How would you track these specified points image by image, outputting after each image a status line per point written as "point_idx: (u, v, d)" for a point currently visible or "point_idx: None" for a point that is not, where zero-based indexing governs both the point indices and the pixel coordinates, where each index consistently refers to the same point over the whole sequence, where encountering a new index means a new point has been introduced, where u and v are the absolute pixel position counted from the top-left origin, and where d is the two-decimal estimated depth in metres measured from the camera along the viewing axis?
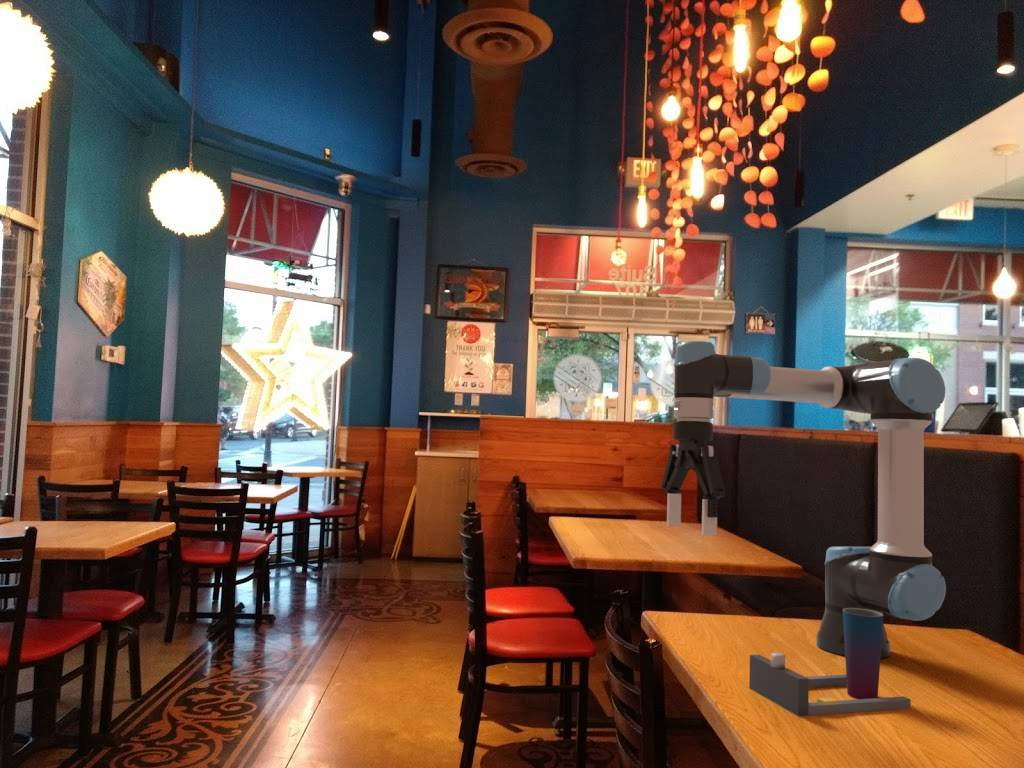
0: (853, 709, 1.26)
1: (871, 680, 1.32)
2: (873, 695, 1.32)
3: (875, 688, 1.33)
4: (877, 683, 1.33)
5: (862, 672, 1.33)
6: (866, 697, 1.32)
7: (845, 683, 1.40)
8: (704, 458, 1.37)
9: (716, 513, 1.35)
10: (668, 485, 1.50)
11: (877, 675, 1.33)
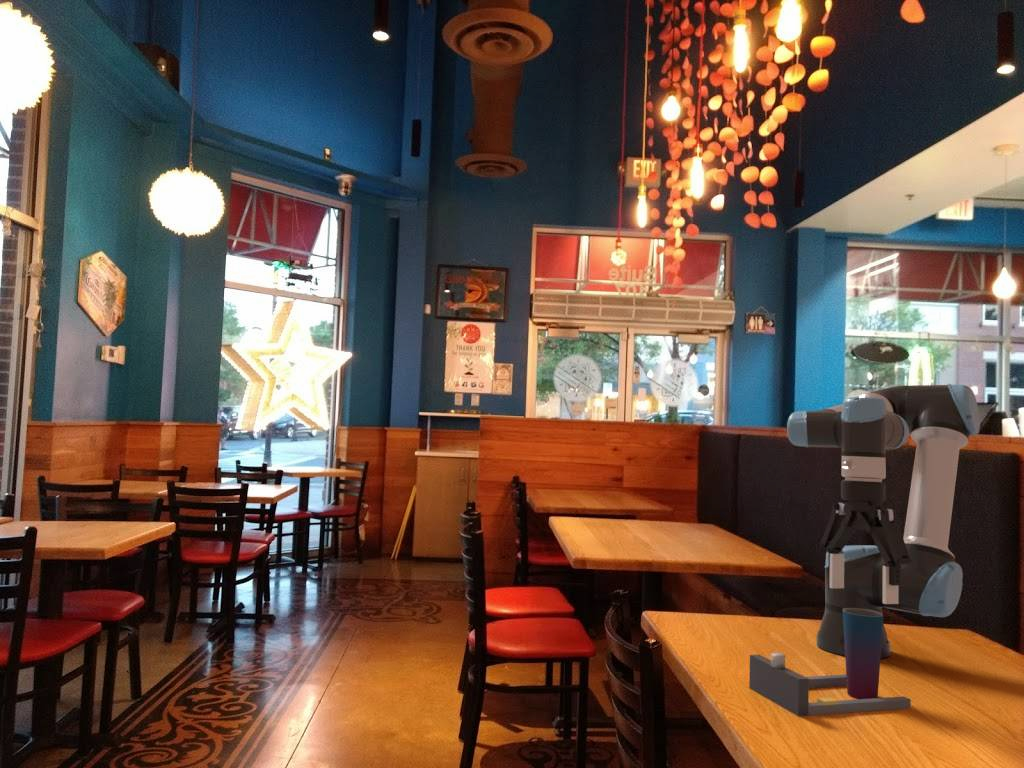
0: (853, 709, 1.26)
1: (871, 680, 1.32)
2: (873, 695, 1.32)
3: (875, 688, 1.33)
4: (877, 683, 1.33)
5: (862, 672, 1.33)
6: (866, 697, 1.32)
7: (845, 683, 1.40)
8: (884, 522, 1.30)
9: (899, 581, 1.28)
10: (830, 545, 1.43)
11: (877, 675, 1.33)
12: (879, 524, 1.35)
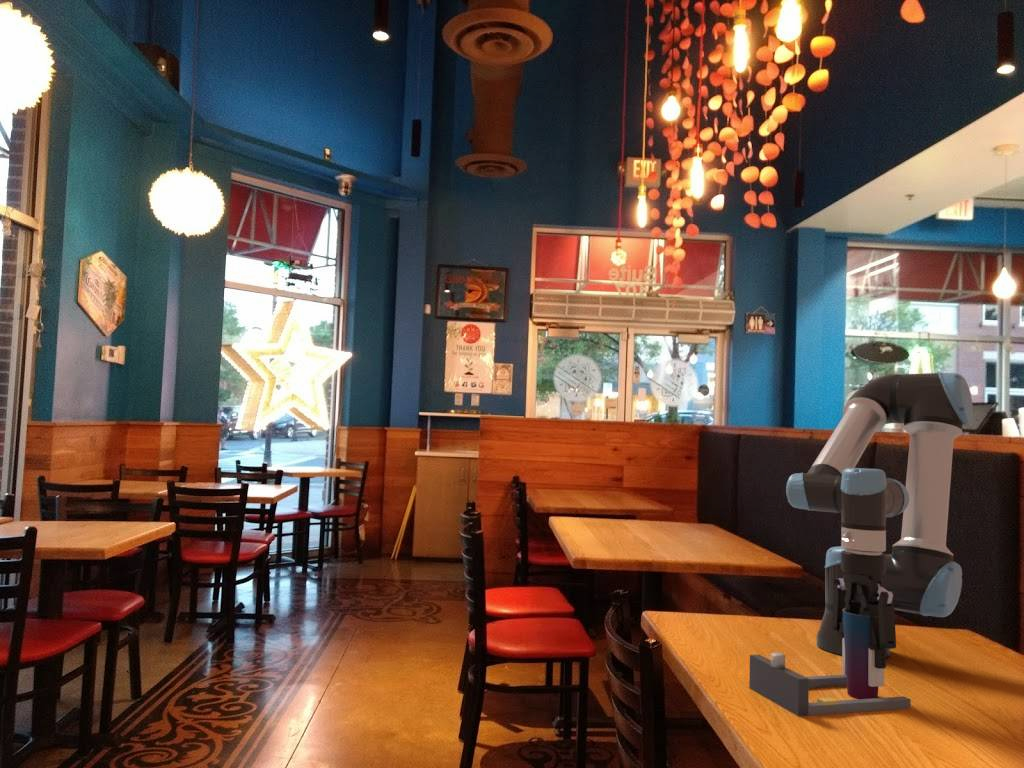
0: (853, 709, 1.26)
1: None
2: (873, 695, 1.32)
3: (875, 688, 1.33)
4: None
5: (862, 672, 1.33)
6: (866, 697, 1.32)
7: (845, 683, 1.40)
8: (881, 605, 1.30)
9: (885, 664, 1.31)
10: (841, 628, 1.39)
11: None
12: (876, 600, 1.34)
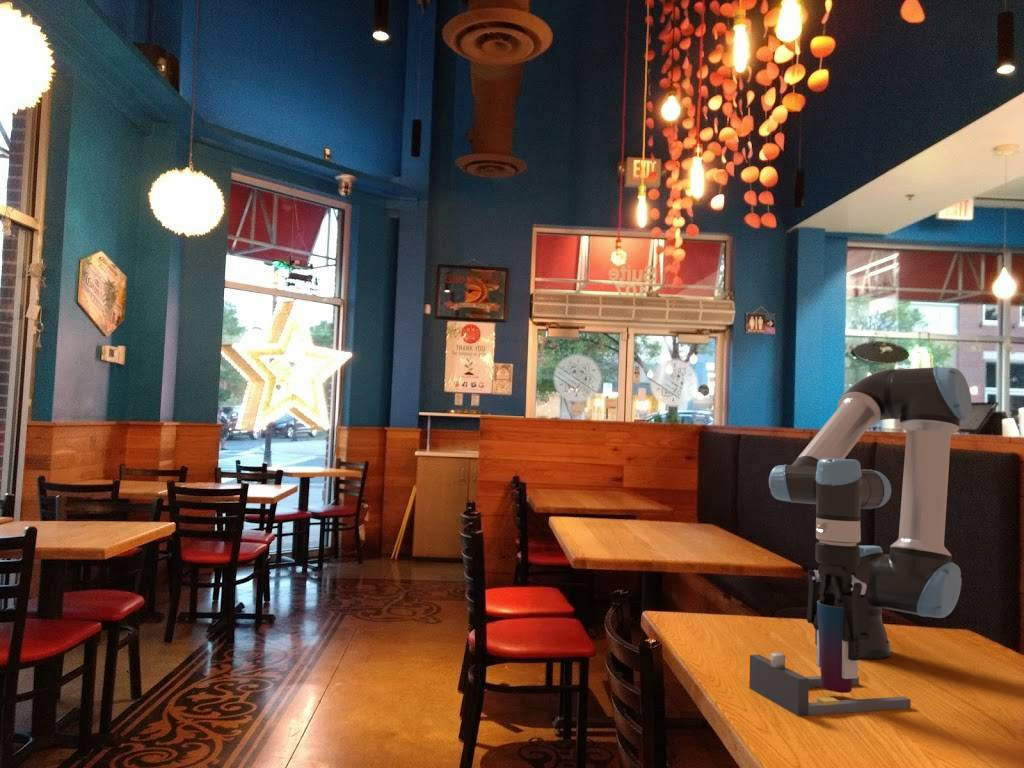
0: (853, 709, 1.26)
1: None
2: (847, 687, 1.31)
3: (849, 680, 1.31)
4: None
5: (836, 664, 1.31)
6: (840, 689, 1.31)
7: None
8: (854, 596, 1.29)
9: (858, 656, 1.29)
10: (816, 620, 1.38)
11: None
12: (851, 591, 1.33)
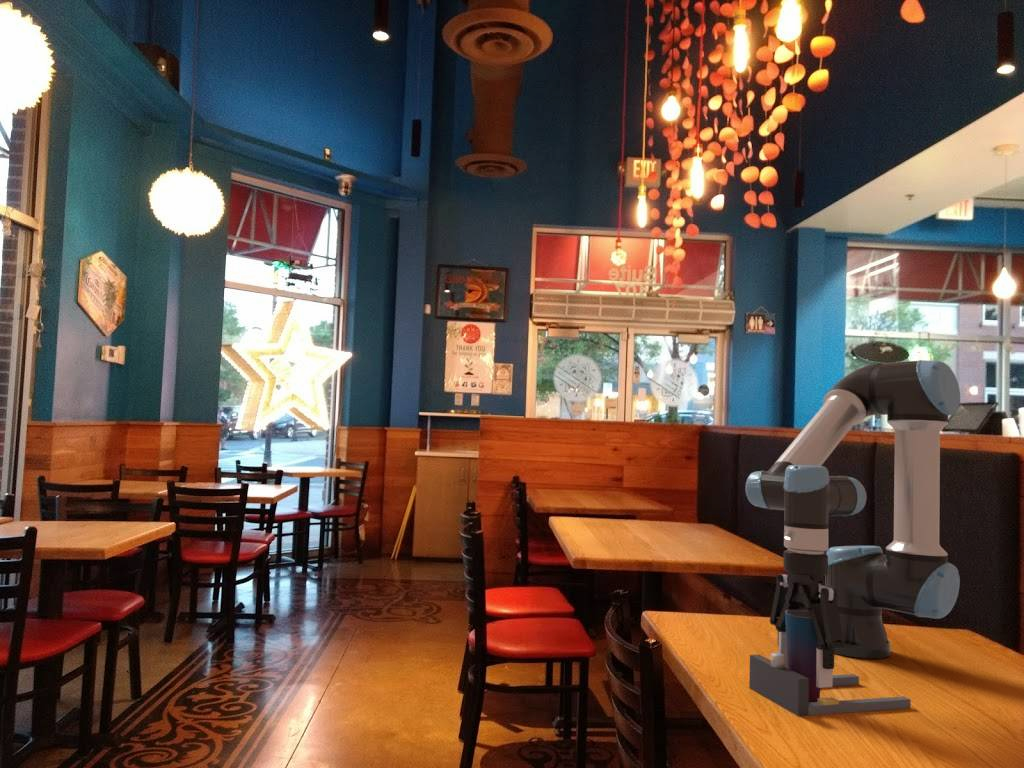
0: (853, 709, 1.26)
1: (812, 683, 1.29)
2: (814, 699, 1.29)
3: (816, 692, 1.29)
4: None
5: (803, 675, 1.29)
6: None
7: (845, 683, 1.40)
8: (823, 602, 1.26)
9: (833, 664, 1.26)
10: (779, 622, 1.37)
11: None
12: (820, 599, 1.31)
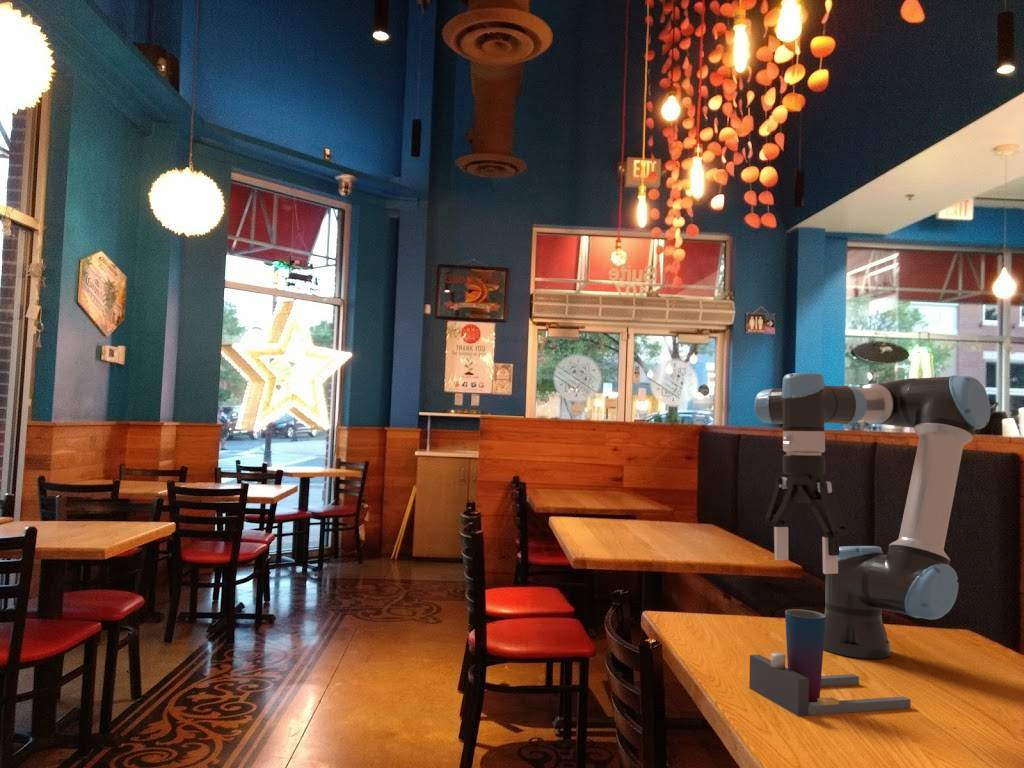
0: (853, 709, 1.26)
1: (812, 683, 1.29)
2: (814, 699, 1.29)
3: (816, 692, 1.29)
4: (818, 686, 1.30)
5: (803, 675, 1.29)
6: None
7: (845, 683, 1.40)
8: (823, 495, 1.34)
9: (838, 551, 1.32)
10: (774, 518, 1.46)
11: (818, 678, 1.30)
12: (819, 496, 1.38)
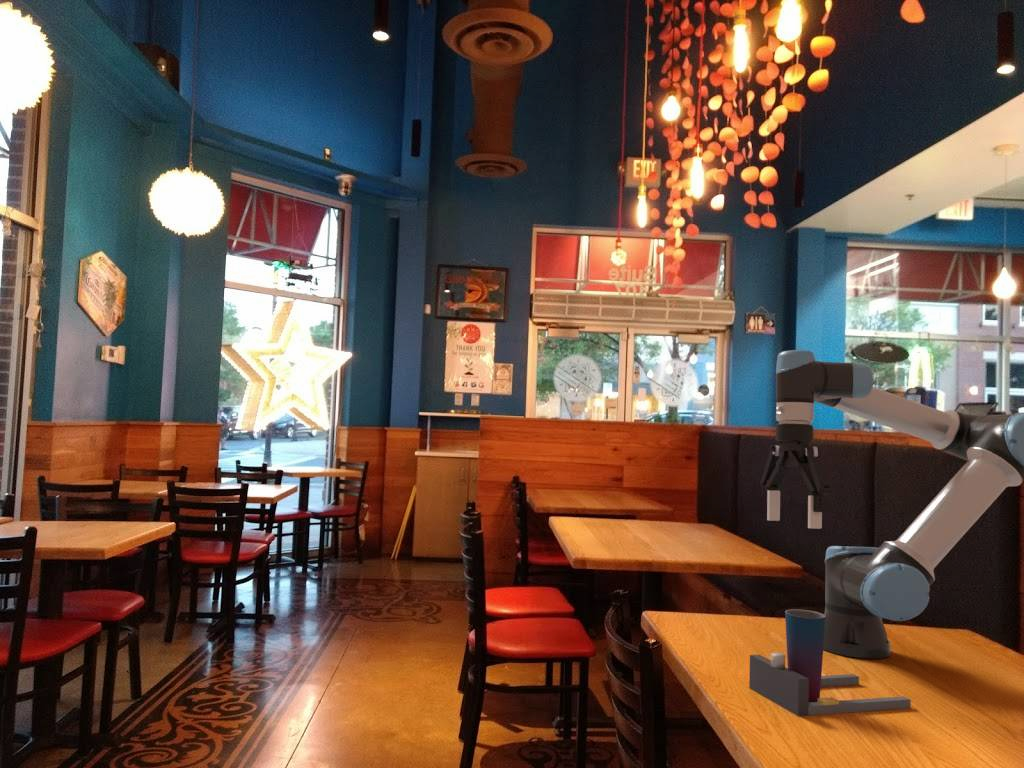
0: (853, 709, 1.26)
1: (812, 683, 1.29)
2: (814, 699, 1.29)
3: (816, 692, 1.29)
4: (818, 686, 1.30)
5: (803, 675, 1.29)
6: None
7: (845, 683, 1.40)
8: (809, 458, 1.49)
9: (822, 508, 1.47)
10: (768, 483, 1.62)
11: (818, 678, 1.30)
12: (807, 461, 1.53)
